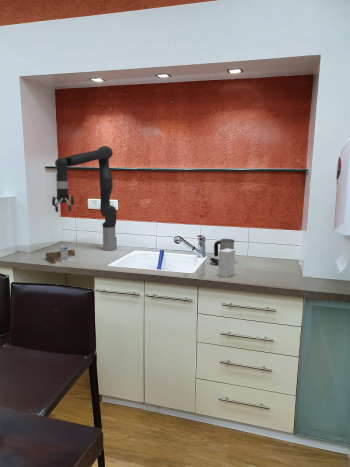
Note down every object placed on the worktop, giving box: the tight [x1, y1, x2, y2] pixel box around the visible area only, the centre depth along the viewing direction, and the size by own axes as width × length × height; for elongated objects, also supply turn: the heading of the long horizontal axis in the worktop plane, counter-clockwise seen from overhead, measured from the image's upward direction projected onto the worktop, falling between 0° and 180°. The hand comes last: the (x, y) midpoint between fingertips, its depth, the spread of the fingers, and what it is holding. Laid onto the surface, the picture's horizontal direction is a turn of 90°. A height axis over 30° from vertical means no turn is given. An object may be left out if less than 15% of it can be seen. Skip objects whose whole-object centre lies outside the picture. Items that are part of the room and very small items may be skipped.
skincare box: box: [217, 248, 236, 278], centre depth 197 cm, size 8×6×15 cm
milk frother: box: [209, 238, 236, 266], centre depth 223 cm, size 14×16×15 cm
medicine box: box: [59, 244, 69, 262], centre depth 228 cm, size 8×4×9 cm, turn 19°
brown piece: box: [45, 249, 76, 264], centre depth 229 cm, size 19×15×4 cm
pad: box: [55, 257, 73, 263], centre depth 228 cm, size 7×11×1 cm, turn 36°
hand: (63, 211), depth 239 cm, fingers open, 8 cm apart
